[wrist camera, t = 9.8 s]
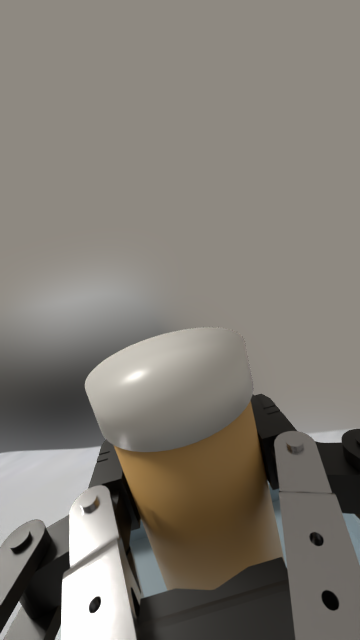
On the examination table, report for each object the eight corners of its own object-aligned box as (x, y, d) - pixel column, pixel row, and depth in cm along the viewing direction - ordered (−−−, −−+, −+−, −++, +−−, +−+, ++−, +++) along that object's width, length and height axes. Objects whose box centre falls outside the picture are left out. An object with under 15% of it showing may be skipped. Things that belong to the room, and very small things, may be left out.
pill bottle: (174, 704, 8) (56, 425, 6) (168, 535, 14) (104, 350, 11) (328, 656, 9) (275, 364, 6) (263, 507, 14) (221, 318, 11)
